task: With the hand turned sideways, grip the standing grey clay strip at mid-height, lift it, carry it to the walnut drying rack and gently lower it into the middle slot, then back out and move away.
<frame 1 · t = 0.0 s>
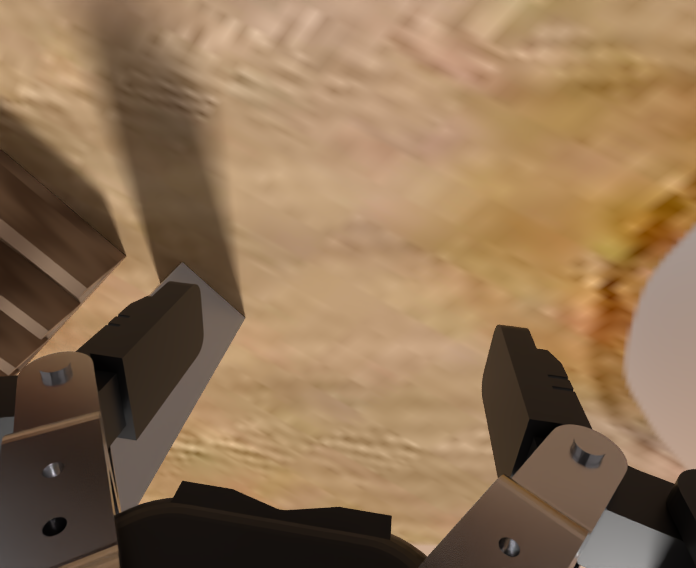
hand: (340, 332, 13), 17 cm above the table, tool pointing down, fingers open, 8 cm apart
drying rack: (13, 275, 36), on the table
clay strip: (203, 300, 34), on the table
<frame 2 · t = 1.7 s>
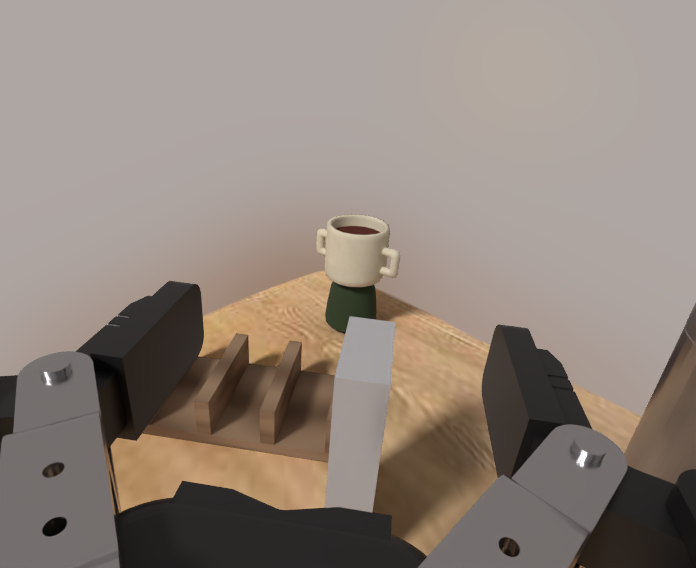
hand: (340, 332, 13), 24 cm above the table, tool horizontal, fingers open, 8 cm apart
drying rack: (254, 407, 44), on the table
clay strip: (347, 533, 33), on the table
character mug: (350, 324, 58), on the table
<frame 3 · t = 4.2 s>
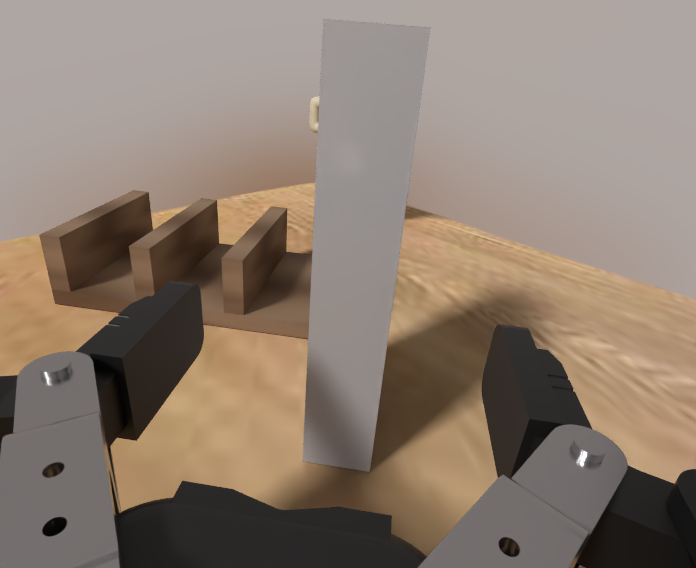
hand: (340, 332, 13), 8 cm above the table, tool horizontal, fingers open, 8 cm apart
drying rack: (221, 286, 33), on the table
clay strip: (345, 416, 22), on the table
character mug: (350, 223, 47), on the table
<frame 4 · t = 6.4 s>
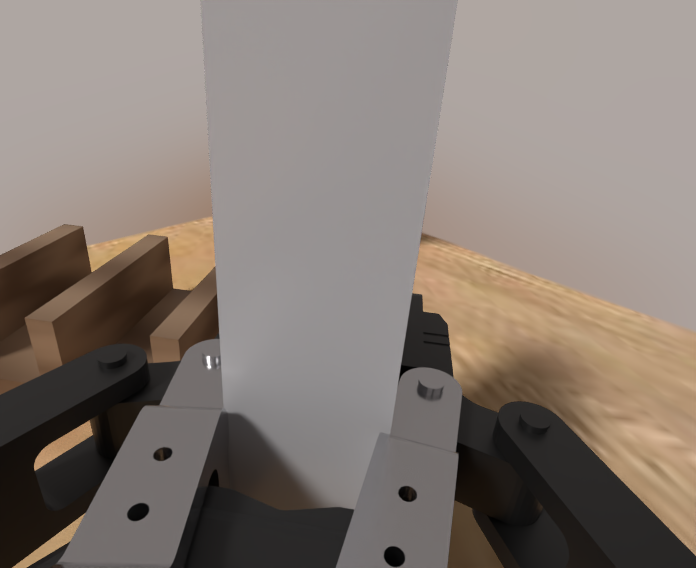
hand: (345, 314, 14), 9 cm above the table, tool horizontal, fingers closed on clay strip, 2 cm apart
drying rack: (169, 350, 25), on the table
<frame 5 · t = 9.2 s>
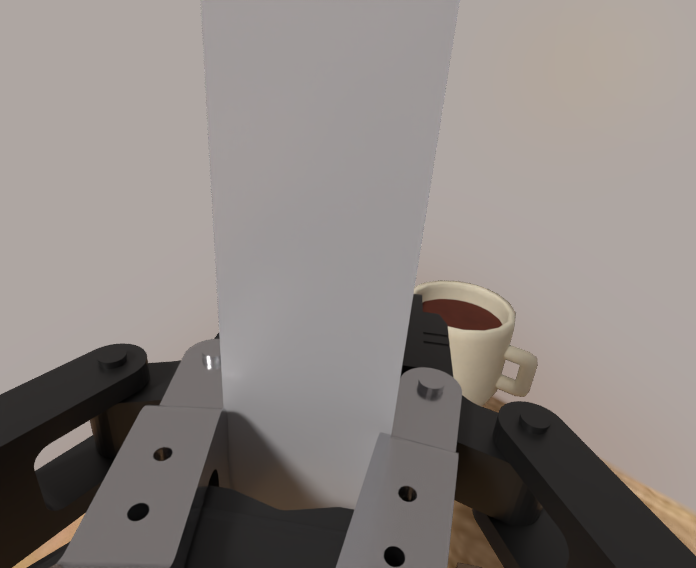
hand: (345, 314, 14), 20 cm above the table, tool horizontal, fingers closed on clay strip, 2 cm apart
character mug: (429, 451, 36), on the table
when the fingers open (10 cm above the table, at t = 12.1 s): clay strip stays where it is, resting on drying rack.
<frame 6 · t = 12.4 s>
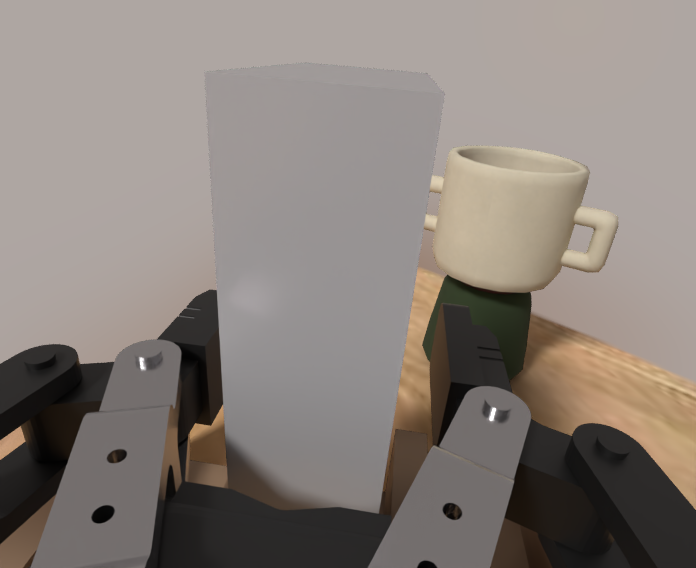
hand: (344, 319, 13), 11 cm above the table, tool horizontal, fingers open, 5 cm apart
character mug: (468, 364, 30), on the table
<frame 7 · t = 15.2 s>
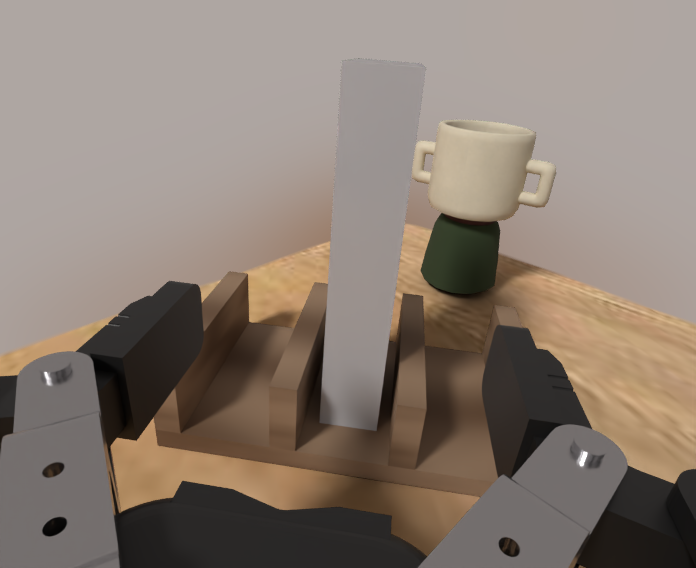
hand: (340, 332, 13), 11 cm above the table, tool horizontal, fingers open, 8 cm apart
drying rack: (352, 401, 26), on the table
clay strip: (354, 387, 25), point 1 cm above the table, touching drying rack
character mug: (455, 285, 40), on the table
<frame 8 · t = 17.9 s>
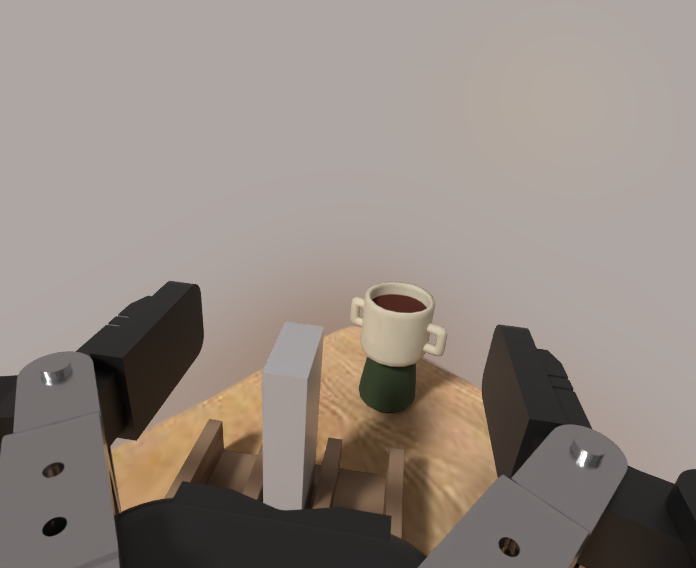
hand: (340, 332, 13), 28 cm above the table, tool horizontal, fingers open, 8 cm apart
drying rack: (290, 518, 39), on the table
clay strip: (290, 510, 38), point 1 cm above the table, touching drying rack
character mug: (385, 399, 53), on the table
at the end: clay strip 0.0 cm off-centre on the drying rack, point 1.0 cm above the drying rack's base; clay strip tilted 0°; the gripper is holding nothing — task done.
